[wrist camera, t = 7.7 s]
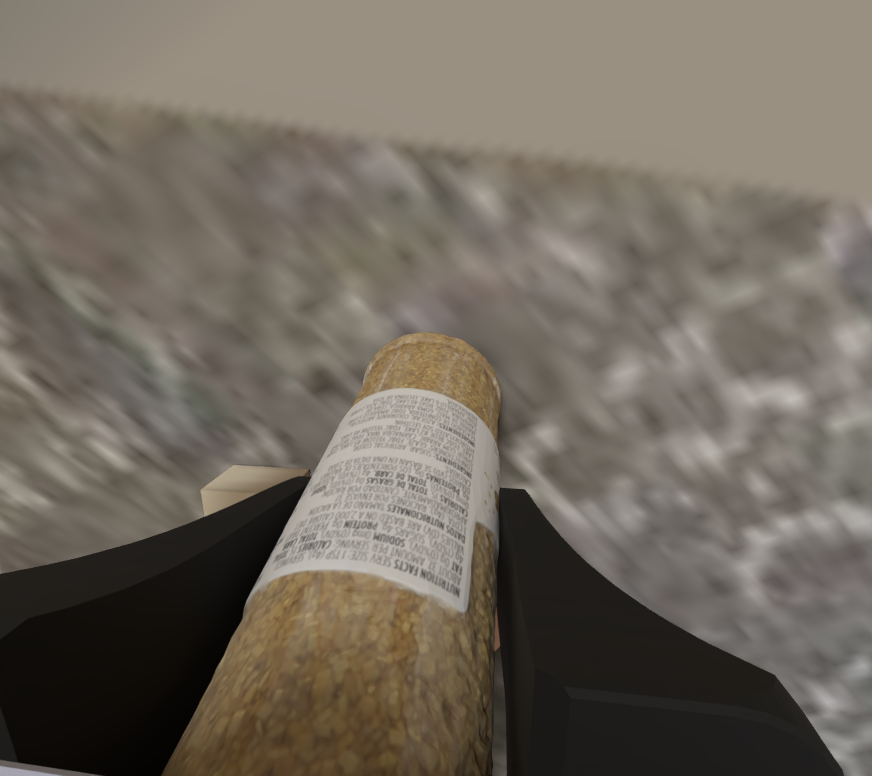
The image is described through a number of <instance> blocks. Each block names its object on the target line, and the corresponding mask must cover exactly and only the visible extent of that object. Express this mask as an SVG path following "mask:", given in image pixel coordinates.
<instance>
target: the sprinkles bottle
mask: <svg viewBox="0 0 872 776" xmlns="http://www.w3.org/2000/svg"><path fill="white" fill-rule="evenodd" d="M500 409H501V387H500V383H499V381H498V378H497V376H496V373H495V371H494V369H493V368H492V366H491V365H490V364H489V363H488V362H487V361H486V359H485V358H484V357H483V356H482V355H481V354H480V353H479V352H477V351H476V350H475V348H473V347H471V346H470V345H469V344H467V343H466V342H464V341H463V340H461V339H458V338H454V337H449V336H446V335H442V334H438V333H415V334H407V335H404V336H402V337H400V338H398V339H395V340H393V341H391V342H390V343H388V344H387V345H386V346H384V347H383V348H382V349H381V350H379V352H378V353H377V354H376V355H375V356H374V357H373V358H372V360H371V362H370V363H369V365H368V367H367V369H366V372H365V375H364V379H363V387H362V388H361V391H360V392H359V394H358V396H357V398H356V400H355V402H354V404H353V406H352V408H351V409H350V410H349V411H348V413H347V414H346V415H345V416H344V418H343V419H342V421H341V423H340V425H339V427H338V429H337V431H336V432H335V434H334V436H333V438H332V440H331V442H330V444H329V446H328V447H327V449H326V451H325V453H324V455H323V457H322V459H321V460H320V462H319V464H318V466H317V468H316V470H315V472H314V474H313V475H312V477H311V479H310V481H309V483H308V485H307V487H306V489H305V491H304V492H303V494H302V496H301V498H300V500H299V502H298V504H297V506H296V508H295V510H294V511H293V513H292V515H291V517H290V519H289V521H288V523H287V525H286V526H285V528H284V530H283V532H282V534H281V536H280V538H279V540H278V542H277V544H276V546H275V548H274V550H273V552H272V553H271V555H270V557H269V559H268V561H267V563H266V565H265V567H264V568H263V570H262V572H261V574H260V576H259V578H258V580H257V582H256V583H255V585H254V587H253V589H252V591H251V593H250V595H249V597H248V599H247V601H246V604H245V607H244V612H243V619H242V621H241V623H240V624H239V626H238V628H237V629H236V631H235V633H234V634H233V636H232V638H231V640H230V642H229V645H228V647H227V649H226V652H225V654H224V657H223V658H222V660H221V662H220V663H219V665H218V667H217V668H216V671H215V673H214V676H213V678H212V681H211V683H210V684H209V686H208V688H207V690H206V692H205V694H204V695H203V697H202V699H201V701H200V703H199V705H198V708H197V710H196V711H195V713H194V715H193V717H192V719H191V721H190V723H189V725H188V726H187V728H186V730H185V732H184V734H183V736H182V738H181V739H180V741H179V743H178V745H177V747H176V749H175V750H174V752H173V754H172V756H171V758H170V759H169V761H168V763H167V765H166V767H165V769H164V771H163V773H162V775H161V776H492V769H493V762H492V740H493V691H494V665H495V649H494V641H495V634H494V632H495V614H496V604H497V574H496V569H497V560H498V555H499V490H500V458H499V452H498V448H497V436H498V434H497V431H498V426H497V424H498V418H499V413H500Z"/></svg>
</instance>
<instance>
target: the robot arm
mask: <svg viewBox="0 0 872 776" xmlns="http://www.w3.org/2000/svg"><path fill="white" fill-rule="evenodd" d="M310 479H311V477H308V476H298V477H294V478H291V479H289V480H286V481H284V482H281V483H279V484H277V485H274V486H272V487H270V488H268V489H266V490H263V491H261V492H259V493H257V494H255V495H253V496H251V497H248V498H246V499H244V500H242V501H240V502H238V503H235V504H233V505H231V506H229V507H226V508H224V509H222V510H219V511H217V512H215V513H212V514H210V515H207V516H205V517H203V518H200V519H198V520H196V521H193V522H191V523H188V524H186V525H183V526H181V527H178V528H175V529H173V530H170V531H167V532H164V533H161V534H158V535H155V536H152V537H149V538H146V539H143V540H140V541H137V542H134V543H131V544H127V545H123V546H120V547H116V548H112V549H109V550H105V551H101V552H98V553H94V554H91V555H87V556H83V557H79V558H75V559H71V560H67V561H62V562H58V563H53V564H49V565H44V566H39V567H34V568H29V569H24V570H19V571H14V572H9V573H3V574H0V776H161V775H162V773H163V771H164V769H165V767H166V765H167V763H168V761H169V759H170V758H171V756H172V754H173V752H174V750H175V749H176V747H177V745H178V743H179V741H180V739H181V738H182V736H183V734H184V732H185V730H186V728H187V726H188V725H189V723H190V721H191V719H192V717H193V715H194V713H195V711H196V710H197V708H198V705H199V703H200V701H201V699H202V697H203V695H204V694H205V692H206V690H207V688H208V686H209V684H210V683H211V681H212V678H213V676H214V673H215V671H216V668H217V667H218V665H219V663H220V662H221V660H222V658H223V657H224V654H225V652H226V649H227V647H228V645H229V642H230V640H231V638H232V636H233V634H234V633H235V631H236V629H237V628H238V626H239V624H240V623H241V621H242V619H243V612H244V607H245V604H246V601H247V599H248V597H249V595H250V593H251V591H252V589H253V587H254V585H255V583H256V582H257V580H258V578H259V576H260V574H261V572H262V570H263V568H264V567H265V565H266V563H267V561H268V559H269V557H270V555H271V553H272V552H273V550H274V548H275V546H276V544H277V542H278V540H279V538H280V536H281V534H282V532H283V530H284V528H285V526H286V525H287V523H288V521H289V519H290V517H291V515H292V513H293V511H294V510H295V508H296V506H297V504H298V502H299V500H300V498H301V496H302V494H303V492H304V491H305V489H306V487H307V485H308V483H309V481H310ZM496 574H497V604H496V608H497V619H498V629H499V639H500V649H501V659H502V669H503V678H504V688H505V703H506V737H507V776H844V774H843V771H842V769H841V767H840V766H839V764H838V763H837V761H836V760H835V759H834V757H833V756H832V754H831V753H830V751H829V750H828V748H827V747H826V745H825V744H824V743H823V741H822V740H821V738H820V736H819V735H818V733H817V732H816V730H815V729H814V727H813V726H812V724H811V723H810V721H809V720H808V718H807V717H806V715H805V714H804V712H803V711H802V710H801V708H800V707H799V706H798V704H797V703H796V702H795V701H794V699H793V698H792V697H791V695H790V694H789V693H788V691H787V690H786V689H785V688H784V686H783V685H782V684H781V683H780V681H779V680H778V679H777V677H776V676H775V675H773V674H771V673H769V672H767V671H765V670H763V669H761V668H759V667H757V666H755V665H752V664H750V663H748V662H746V661H744V660H742V659H740V658H738V657H736V656H733V655H731V654H729V653H727V652H725V651H723V650H721V649H719V648H717V647H715V646H712V645H710V644H708V643H706V642H705V641H703V640H701V639H699V638H697V637H695V636H694V635H692V634H690V633H688V632H687V631H685V630H683V629H681V628H679V627H678V626H676V625H674V624H672V623H671V622H669V621H667V620H666V619H664V618H662V617H661V616H659V615H657V614H656V613H654V612H653V611H651V610H649V609H648V608H646V607H645V606H643V605H642V604H641V603H639V602H638V601H636V600H635V599H633V598H632V597H630V596H629V595H627V594H626V593H625V592H623V591H622V590H620V589H619V588H618V587H616V586H615V585H614V584H612V583H611V582H610V581H609V580H607V579H606V578H605V577H604V576H603V575H601V574H600V573H599V572H598V571H596V570H595V569H594V568H593V567H592V566H590V565H589V564H588V563H587V562H586V561H585V560H584V559H583V558H582V557H581V556H579V555H578V554H577V553H576V552H575V551H574V550H573V549H572V548H571V547H570V545H569V544H568V543H567V542H566V541H565V540H564V539H563V538H562V537H561V536H560V534H559V533H558V532H557V531H556V530H555V528H554V527H553V526H552V525H551V524H550V523H549V521H548V520H547V519H546V518H545V516H544V515H543V514H542V512H541V511H540V510H539V508H538V507H537V505H536V504H535V503H534V501H533V500H532V498H531V497H530V495H529V494H528V493H527V492H526V490H525V489H510V488H500V490H499V555H498V560H497V569H496Z"/></svg>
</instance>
